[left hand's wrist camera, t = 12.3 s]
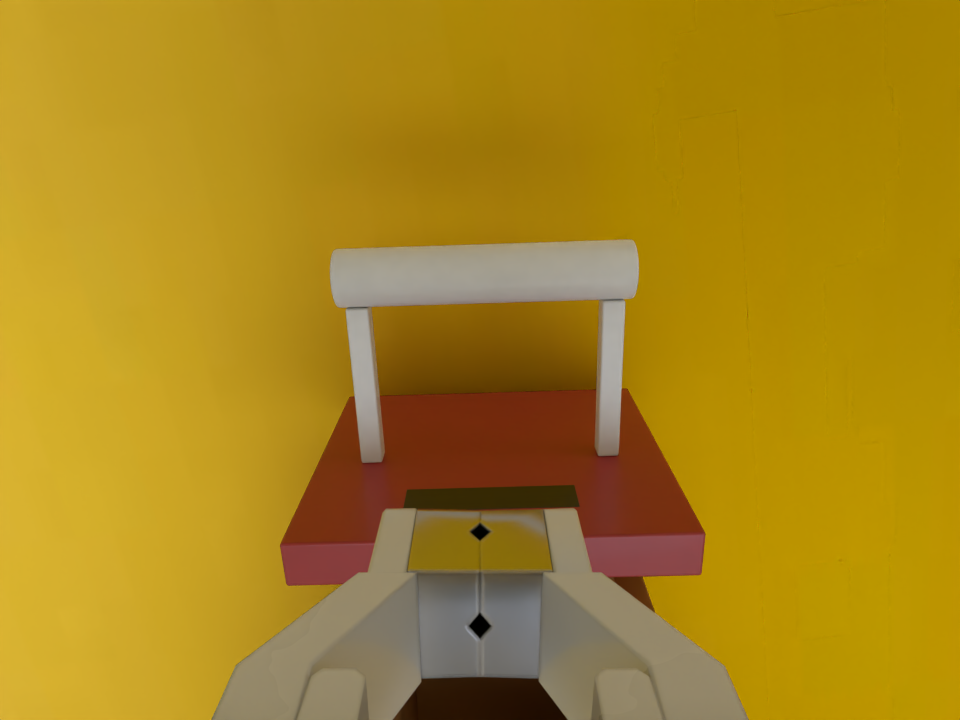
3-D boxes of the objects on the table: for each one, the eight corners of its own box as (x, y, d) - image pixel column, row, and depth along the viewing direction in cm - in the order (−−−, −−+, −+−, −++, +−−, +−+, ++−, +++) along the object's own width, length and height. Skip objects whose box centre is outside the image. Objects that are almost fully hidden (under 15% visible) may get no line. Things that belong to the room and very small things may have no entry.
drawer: (330, 223, 21) (237, 288, 13) (636, 213, 21) (732, 273, 13) (390, 777, 30) (357, 1024, 22) (609, 772, 30) (657, 1019, 22)
